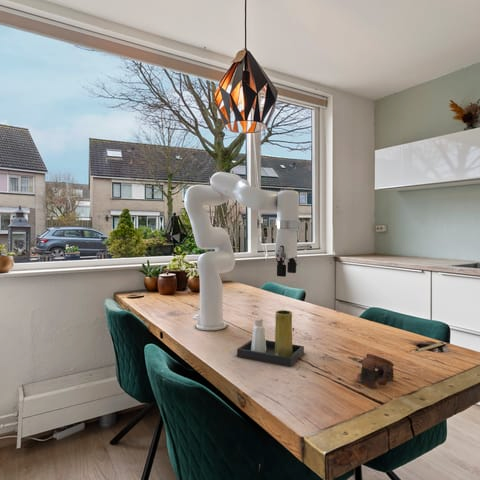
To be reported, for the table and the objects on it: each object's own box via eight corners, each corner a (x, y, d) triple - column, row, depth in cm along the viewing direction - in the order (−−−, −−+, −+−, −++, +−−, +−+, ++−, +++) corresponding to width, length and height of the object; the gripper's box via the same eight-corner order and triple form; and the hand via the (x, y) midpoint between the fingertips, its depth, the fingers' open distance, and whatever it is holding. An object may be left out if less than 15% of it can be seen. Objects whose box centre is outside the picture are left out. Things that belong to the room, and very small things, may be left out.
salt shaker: (261, 355, 117) (261, 321, 117) (247, 352, 120) (247, 319, 119) (269, 350, 122) (269, 318, 121) (255, 347, 125) (255, 315, 124)
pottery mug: (348, 378, 102) (357, 350, 104) (377, 391, 103) (385, 363, 105) (371, 385, 90) (381, 354, 93) (403, 400, 91) (412, 368, 93)
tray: (237, 356, 117) (237, 348, 117) (254, 345, 129) (254, 338, 128) (290, 366, 109) (290, 358, 109) (304, 353, 120) (304, 346, 120)
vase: (292, 359, 113) (292, 314, 113) (273, 358, 114) (273, 313, 114) (293, 353, 119) (294, 310, 119) (275, 351, 120) (275, 309, 120)
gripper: (286, 225, 136) (285, 270, 137) (267, 226, 120) (266, 276, 121) (305, 226, 132) (304, 272, 133) (288, 226, 117) (287, 278, 118)
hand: (286, 274), depth 127 cm, fingers open, 9 cm apart
